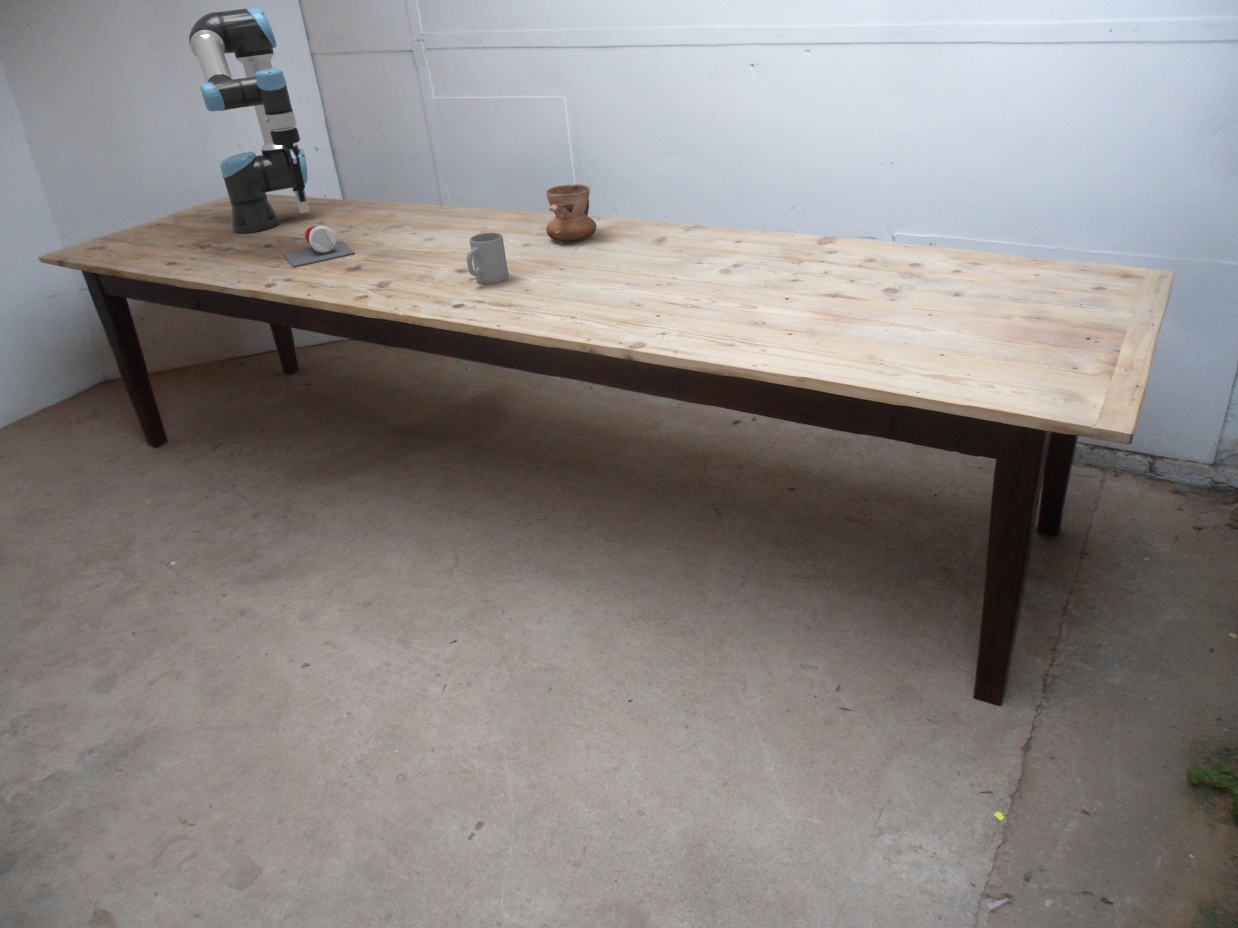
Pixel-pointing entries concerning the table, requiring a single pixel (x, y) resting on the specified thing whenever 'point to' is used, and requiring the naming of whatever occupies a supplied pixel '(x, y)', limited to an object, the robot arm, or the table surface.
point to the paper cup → (320, 238)
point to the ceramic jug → (570, 213)
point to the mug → (487, 258)
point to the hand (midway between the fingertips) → (304, 212)
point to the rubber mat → (317, 255)
